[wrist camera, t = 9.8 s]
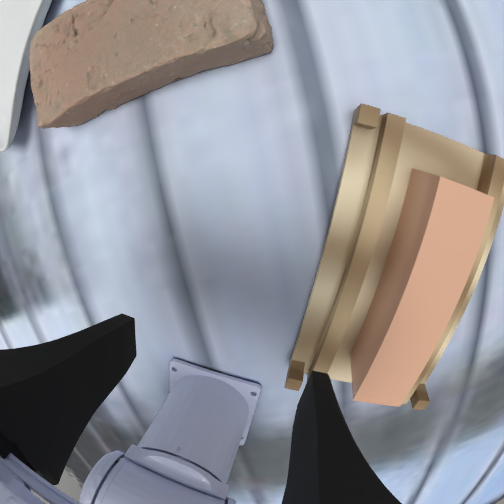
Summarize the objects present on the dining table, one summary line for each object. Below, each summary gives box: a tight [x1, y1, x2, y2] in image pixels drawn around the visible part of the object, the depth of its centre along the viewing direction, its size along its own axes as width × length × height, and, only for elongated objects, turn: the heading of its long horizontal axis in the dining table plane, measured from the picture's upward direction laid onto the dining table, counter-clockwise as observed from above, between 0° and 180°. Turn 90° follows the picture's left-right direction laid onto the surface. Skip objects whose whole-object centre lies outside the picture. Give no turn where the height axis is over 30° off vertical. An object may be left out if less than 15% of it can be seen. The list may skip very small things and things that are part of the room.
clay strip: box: [350, 168, 494, 407], centre depth 15 cm, size 13×3×4 cm, turn 170°
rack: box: [285, 104, 504, 410], centre depth 17 cm, size 18×11×3 cm, turn 170°
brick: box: [29, 0, 273, 129], centre depth 15 cm, size 17×8×5 cm, turn 102°
